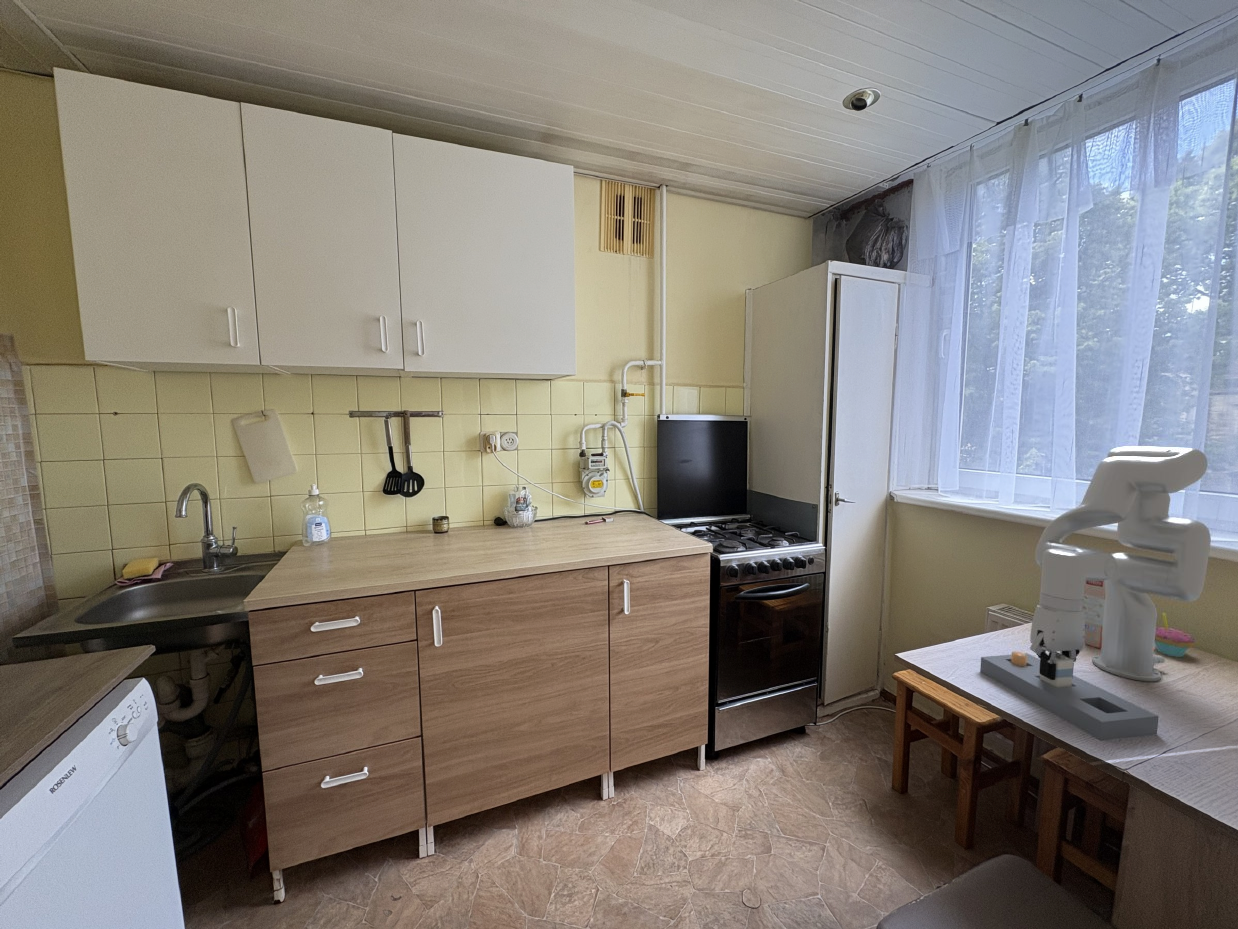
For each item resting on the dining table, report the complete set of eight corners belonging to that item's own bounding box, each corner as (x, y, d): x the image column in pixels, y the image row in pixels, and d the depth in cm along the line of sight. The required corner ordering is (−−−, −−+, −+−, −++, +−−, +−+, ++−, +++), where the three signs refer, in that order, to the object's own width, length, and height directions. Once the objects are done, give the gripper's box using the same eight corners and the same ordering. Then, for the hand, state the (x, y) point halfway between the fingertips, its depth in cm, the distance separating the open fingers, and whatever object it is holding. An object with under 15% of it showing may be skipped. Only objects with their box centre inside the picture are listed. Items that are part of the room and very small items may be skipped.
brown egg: (1017, 673, 124) (1018, 651, 124) (1028, 679, 121) (1030, 656, 121) (1007, 674, 124) (1008, 651, 124) (1018, 680, 121) (1019, 657, 121)
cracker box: (1102, 650, 138) (1108, 580, 137) (1075, 642, 143) (1080, 575, 142) (1116, 638, 146) (1121, 572, 144) (1089, 631, 151) (1094, 567, 149)
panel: (1026, 669, 128) (1027, 653, 127) (1156, 736, 100) (1158, 716, 100) (980, 673, 126) (981, 657, 125) (1100, 742, 98) (1102, 722, 98)
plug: (1052, 691, 116) (1055, 648, 115) (1070, 701, 112) (1074, 657, 111) (1038, 692, 116) (1041, 650, 115) (1055, 702, 112) (1059, 658, 111)
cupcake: (1148, 652, 137) (1151, 612, 136) (1147, 643, 142) (1151, 604, 142) (1194, 663, 130) (1198, 621, 130) (1192, 653, 136) (1196, 613, 135)
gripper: (1074, 594, 117) (1068, 666, 118) (1014, 598, 115) (1010, 671, 116) (1109, 606, 109) (1103, 682, 111) (1046, 610, 107) (1041, 687, 109)
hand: (1055, 675), depth 113 cm, fingers closed on plug, 4 cm apart
